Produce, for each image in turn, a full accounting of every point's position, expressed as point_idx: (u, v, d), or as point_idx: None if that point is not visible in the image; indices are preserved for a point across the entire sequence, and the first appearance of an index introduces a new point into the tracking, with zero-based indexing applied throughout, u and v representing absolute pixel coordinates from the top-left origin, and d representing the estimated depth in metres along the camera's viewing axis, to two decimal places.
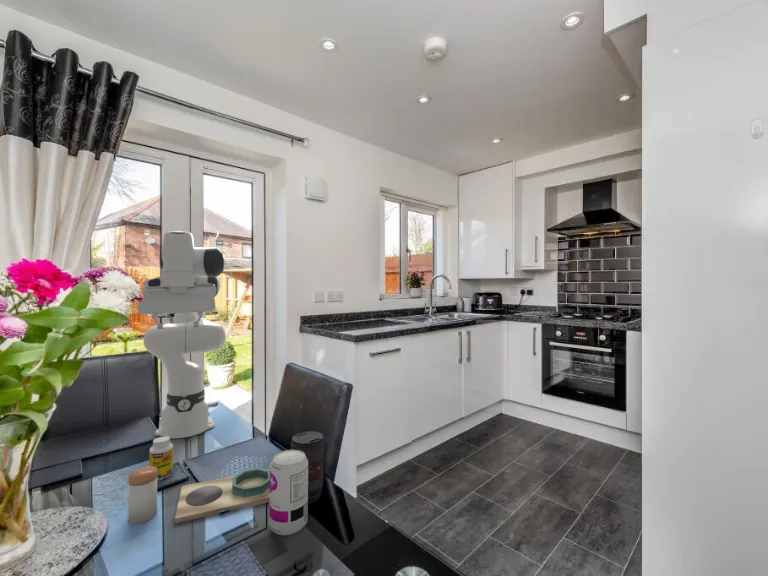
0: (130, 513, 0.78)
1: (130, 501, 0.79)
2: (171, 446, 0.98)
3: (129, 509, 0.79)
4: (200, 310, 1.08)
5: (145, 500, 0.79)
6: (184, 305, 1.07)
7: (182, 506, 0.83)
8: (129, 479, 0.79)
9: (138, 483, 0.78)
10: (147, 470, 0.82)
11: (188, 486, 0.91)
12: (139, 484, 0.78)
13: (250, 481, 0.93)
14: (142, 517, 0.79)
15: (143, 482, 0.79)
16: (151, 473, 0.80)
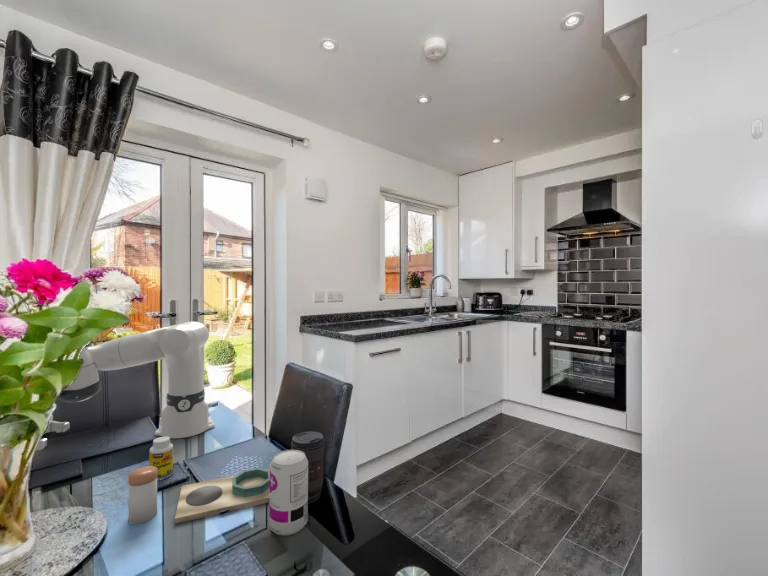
0: (130, 513, 0.78)
1: (130, 501, 0.79)
2: (171, 446, 0.98)
3: (129, 509, 0.79)
4: None
5: (144, 500, 0.79)
6: None
7: (182, 506, 0.83)
8: (129, 479, 0.79)
9: (138, 483, 0.78)
10: (147, 470, 0.82)
11: (188, 486, 0.91)
12: (139, 484, 0.78)
13: (250, 481, 0.93)
14: (142, 517, 0.79)
15: (143, 482, 0.79)
16: (151, 473, 0.80)
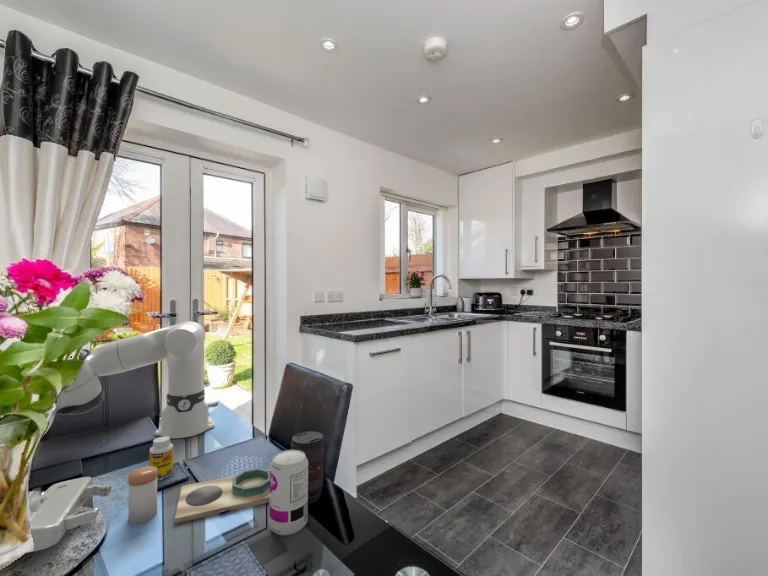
0: (130, 513, 0.78)
1: (130, 501, 0.79)
2: (171, 446, 0.98)
3: (129, 509, 0.79)
4: (85, 484, 0.81)
5: (145, 500, 0.79)
6: (68, 495, 0.76)
7: (182, 506, 0.83)
8: (129, 479, 0.79)
9: (138, 483, 0.78)
10: (147, 470, 0.82)
11: (188, 486, 0.91)
12: (139, 484, 0.78)
13: (250, 481, 0.93)
14: (142, 517, 0.79)
15: (143, 482, 0.79)
16: (151, 473, 0.80)
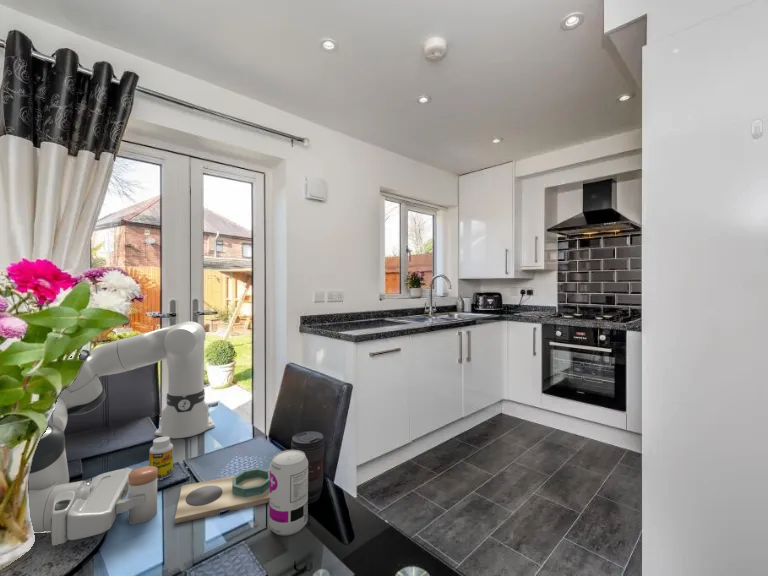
0: (130, 513, 0.78)
1: None
2: (171, 446, 0.98)
3: (129, 509, 0.79)
4: (127, 475, 0.85)
5: (145, 500, 0.79)
6: (114, 485, 0.80)
7: (182, 506, 0.83)
8: (129, 479, 0.79)
9: (138, 483, 0.78)
10: (147, 470, 0.82)
11: (188, 486, 0.91)
12: (139, 484, 0.78)
13: (250, 481, 0.93)
14: (142, 517, 0.79)
15: (143, 482, 0.79)
16: (151, 473, 0.80)
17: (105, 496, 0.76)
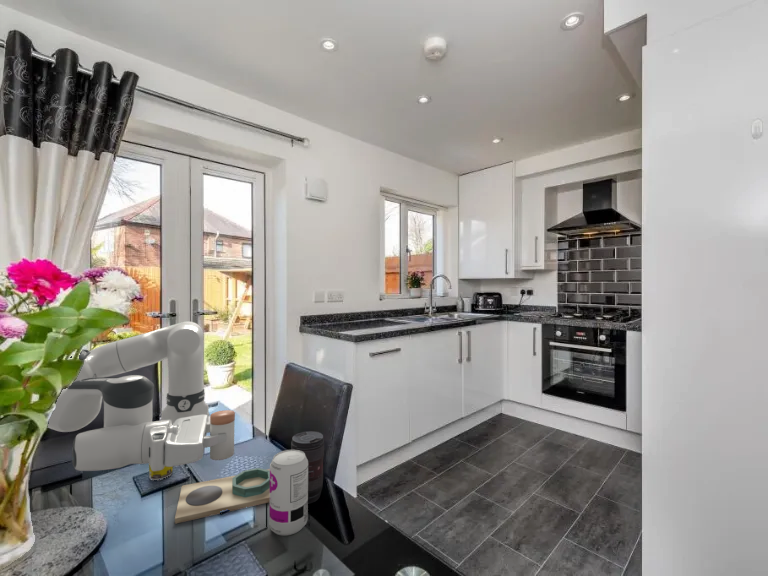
0: (212, 450, 0.84)
1: None
2: None
3: (211, 447, 0.85)
4: (205, 419, 0.91)
5: None
6: (196, 425, 0.86)
7: (182, 506, 0.83)
8: (211, 419, 0.85)
9: (220, 422, 0.84)
10: (226, 412, 0.88)
11: (188, 486, 0.91)
12: (221, 423, 0.84)
13: (250, 481, 0.93)
14: (223, 455, 0.84)
15: (224, 422, 0.85)
16: (230, 415, 0.86)
17: (192, 432, 0.82)
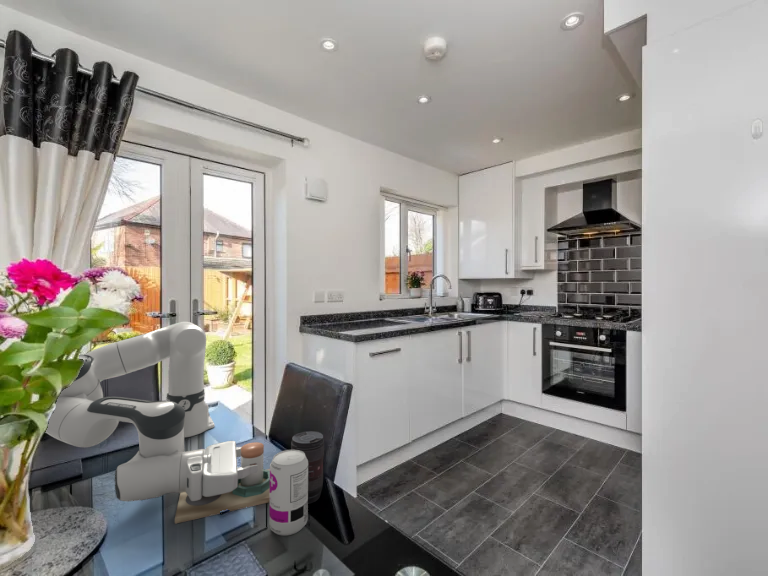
0: (244, 482, 0.89)
1: None
2: None
3: (242, 479, 0.89)
4: (234, 446, 0.95)
5: None
6: (227, 453, 0.91)
7: (182, 506, 0.83)
8: (243, 452, 0.89)
9: (251, 456, 0.89)
10: (255, 445, 0.92)
11: None
12: (252, 457, 0.89)
13: None
14: None
15: (255, 455, 0.89)
16: (260, 448, 0.91)
17: (225, 462, 0.86)
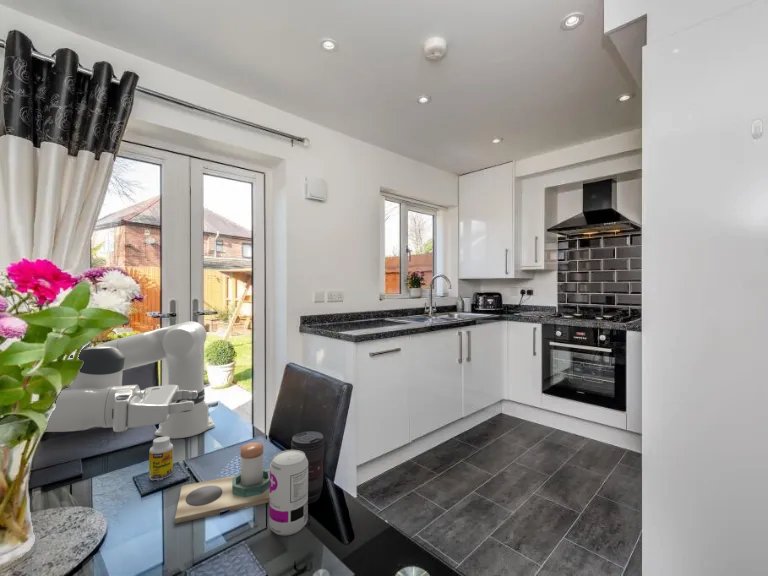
0: (244, 482, 0.89)
1: (244, 472, 0.89)
2: (171, 446, 0.98)
3: (242, 479, 0.89)
4: (175, 388, 0.89)
5: (256, 471, 0.89)
6: (165, 392, 0.85)
7: (182, 506, 0.83)
8: (242, 453, 0.89)
9: (251, 456, 0.89)
10: (255, 445, 0.92)
11: (188, 486, 0.91)
12: (252, 457, 0.89)
13: None
14: None
15: (255, 455, 0.89)
16: (260, 448, 0.91)
17: (159, 397, 0.81)
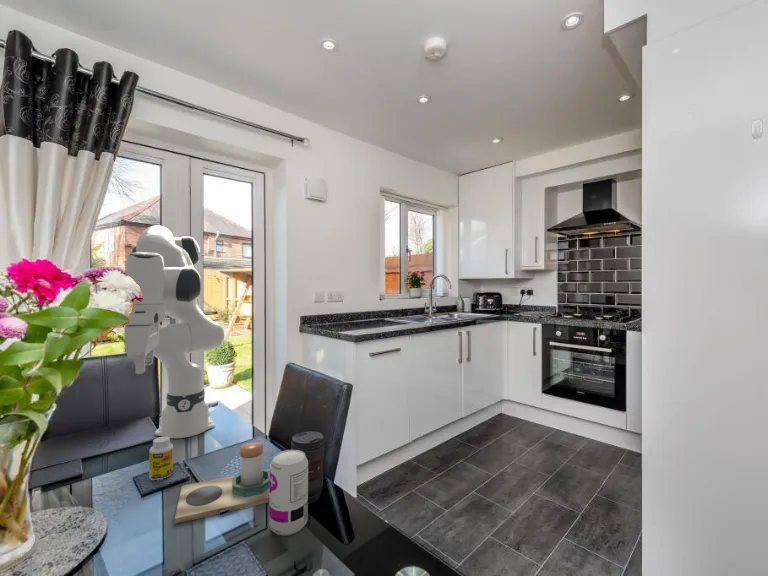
0: (244, 482, 0.89)
1: (244, 472, 0.89)
2: (171, 446, 0.98)
3: (242, 479, 0.89)
4: (156, 345, 0.97)
5: (256, 470, 0.89)
6: (154, 341, 0.93)
7: (182, 506, 0.83)
8: (242, 452, 0.89)
9: (251, 455, 0.89)
10: (254, 445, 0.92)
11: (188, 486, 0.91)
12: (252, 456, 0.89)
13: None
14: None
15: (255, 454, 0.89)
16: (259, 447, 0.91)
17: (151, 342, 0.89)
